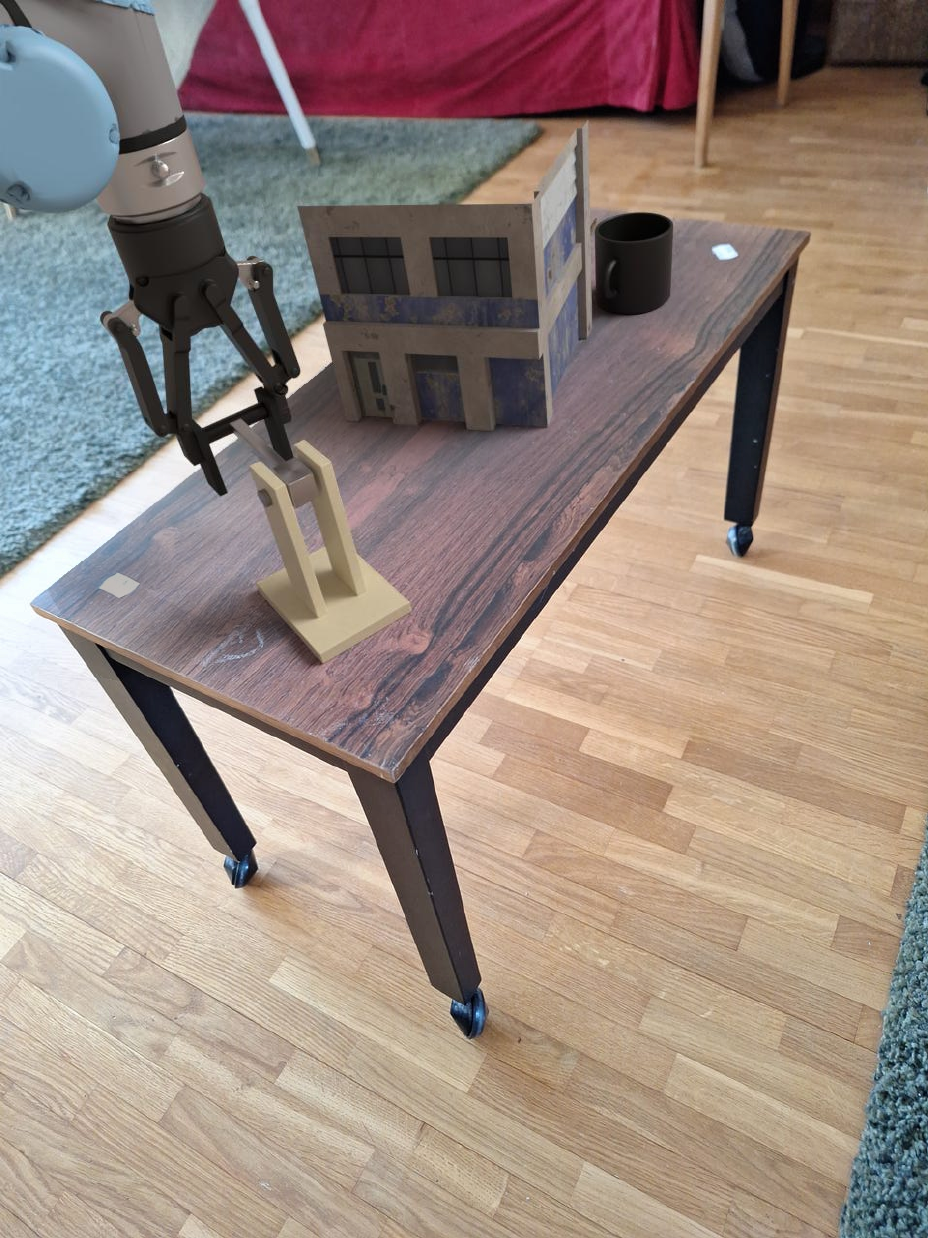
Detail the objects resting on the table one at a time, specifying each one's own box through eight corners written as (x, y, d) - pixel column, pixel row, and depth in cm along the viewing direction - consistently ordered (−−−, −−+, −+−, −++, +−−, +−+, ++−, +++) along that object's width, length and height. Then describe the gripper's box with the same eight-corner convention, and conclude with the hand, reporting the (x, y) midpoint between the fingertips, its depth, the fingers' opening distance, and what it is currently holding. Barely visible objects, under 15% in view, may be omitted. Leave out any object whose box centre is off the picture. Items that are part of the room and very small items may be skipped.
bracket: (259, 592, 78) (205, 457, 68) (342, 547, 82) (303, 411, 71) (322, 664, 71) (273, 524, 61) (412, 611, 74) (379, 470, 64)
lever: (203, 445, 74) (194, 421, 72) (264, 417, 76) (257, 393, 74) (274, 520, 66) (266, 495, 64) (340, 486, 68) (334, 462, 67)
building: (346, 420, 98) (293, 208, 82) (418, 321, 113) (386, 127, 97) (544, 434, 91) (529, 206, 75) (592, 327, 106) (588, 119, 90)
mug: (571, 316, 109) (569, 244, 103) (618, 277, 115) (618, 207, 109) (638, 329, 105) (639, 255, 98) (683, 288, 111) (687, 216, 104)
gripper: (41, 262, 55) (169, 539, 71) (297, 173, 62) (362, 444, 78) (11, 234, 60) (138, 500, 76) (252, 155, 67) (322, 414, 83)
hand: (251, 471), depth 77 cm, fingers closed on lever, 6 cm apart
